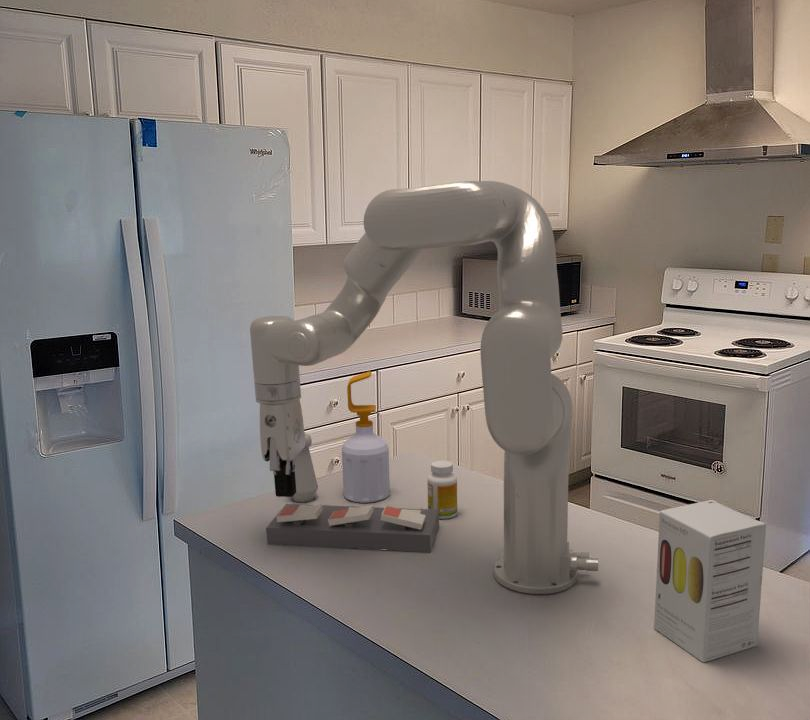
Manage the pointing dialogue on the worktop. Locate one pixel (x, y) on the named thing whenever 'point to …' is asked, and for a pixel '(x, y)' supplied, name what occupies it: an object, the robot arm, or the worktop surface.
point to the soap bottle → (364, 456)
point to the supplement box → (709, 579)
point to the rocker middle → (350, 515)
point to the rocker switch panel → (355, 531)
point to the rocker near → (403, 517)
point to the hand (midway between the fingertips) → (286, 494)
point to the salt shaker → (305, 474)
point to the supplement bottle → (442, 489)
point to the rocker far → (299, 513)
